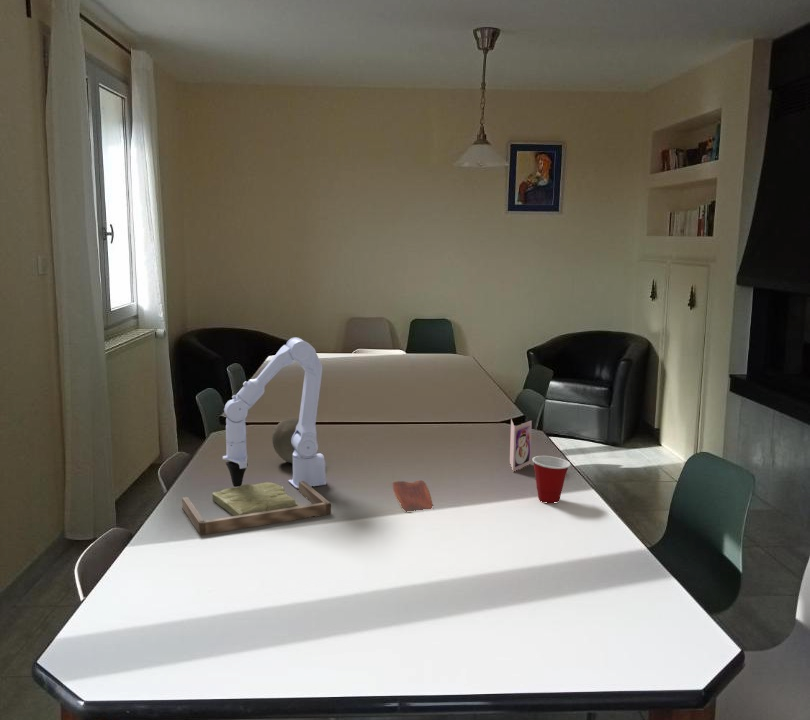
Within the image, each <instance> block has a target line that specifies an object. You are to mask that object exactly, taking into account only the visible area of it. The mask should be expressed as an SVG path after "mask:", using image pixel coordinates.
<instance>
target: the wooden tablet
mask: <svg viewBox="0 0 810 720" xmlns="http://www.w3.org/2000/svg"><path fill="white" fill-rule="evenodd" d="M392 489H393V492H395V493H394V496H395V498H396V497H397V498H396V500H397V499H398V500H399V502H400V503H401V506H402V507H401V506H400V507H401V509H402V508H403V509H404V510H405V511H406V512H407V511H414V510H415V511H416V510H423V509H431V508H432V506H434V503H433V501H432V498H431V496H430V492H429V489H428V485H427V484H426V482H425V481H423V480H416V481H414V482H409V481H404V480H402V481H401V480H400V481H399V480H398V481H393V482H392ZM398 500H397V501H398ZM399 502H398V503H399ZM432 503H433V504H432ZM406 512H405V513H406Z"/></svg>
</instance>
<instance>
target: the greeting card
mask: <svg viewBox="0 0 810 720" xmlns="http://www.w3.org/2000/svg"><path fill="white" fill-rule="evenodd" d="M532 422H533V420H529V421H526V422H524V423H521V424H519V425H514V422H513V419H512V418H510V442H509V444H510V445H509V464H511V465H510V467H512V468H511V470H513V471H512V473H515V472H517V471H519V470H521V469H520V468H522V467H524V466H526V465H528V464H530V465H531V455H532V454H531V448H532V425H533V424H532ZM528 466H529V465H528ZM526 467H527V466H526ZM524 468H525V467H524ZM518 469H519V470H518ZM522 469H523V468H522ZM516 470H517V471H516ZM514 471H515V472H514Z"/></svg>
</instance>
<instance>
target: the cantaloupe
mask: <svg viewBox="0 0 810 720" xmlns="http://www.w3.org/2000/svg"><path fill="white" fill-rule="evenodd" d="M298 422H299V418H285V419H283V420H280V422H278V424H276V425H275V427H274V429H273V432H272V435H271V442H272V446H273V447H272V448H273V449H274V451H275V452H276V455H278V456H279V458H281V459H282V460H283V461H286V462H287V463H289V464H292V465H293V452H294V450H295V448H294V447H293V446H292V443H291V438H292V436H293V434H294V433H295V430H296V426H297V424H298Z"/></svg>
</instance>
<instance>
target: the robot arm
mask: <svg viewBox="0 0 810 720" xmlns="http://www.w3.org/2000/svg"><path fill="white" fill-rule="evenodd" d="M294 361H296V363H298V364H299V366H300V367H301V368H302V369H303V370H304V377H303V383H302V384H303V385H302V393H301V398H300V399H301V400H300V407H299V415H298V416H299V417H298V419H299V422H298V424H297V426H296V430H295V433H294V434H293V436H292V438H291V443H292V446H293V447H294V448H295V450H294V452H293V464H292V479H288V482H289V484H291V485H292V486H293V487H294V488H295V489H298V490H299V481H304V482H306V483H307V484H308V485H309V486H311V487H312V486H313V487H318V486H325V485H327V482H326V461H325V459H326V458H325V457H324V455H323V454H322V453H317V452H318V449H319V444H318V443H319V442H318V441H317V440H318V439H317V434H318V432H317V427H316V423H317V414H318V406H319V400H320V391H321V383H322V376H323V369H324V368H323V365H322V362H321V361H320V358H319V356H318V354H317V351H316V349H315V347H313V346H312V344H310V343H309V342H307V341H305V340H303V339H302V338H301V337H291V338H290V339H289V340H287V341H286V344H283V345H282V346H281V347H280V348H279V349H278V351H277V352H276V354H275V355H274V356H273V357H272V358H271V359H270V361H268V363H267V364H266V365H265V367H264V368H263V369H262V370H261V371H260V373H259V374H258V375H257V376H256V378H252V379H251V378H250V379H248V381H247V380H246V381H244V382H243V383H242V385H243V386H242V387H241V388H240V390H239V391H238V392H237V393H236V394H233V395H232V396H231V398H232V399H229V400H227V402H226V403H225V405H224V408H223V412H224V415H225V416H226V419H225V424H226V425H225V444H226V447H225V448H226V452H225V455H223V456H222V457H221V458H222V460H224V461H226V462H225V465H226V467H227V469H228V471H229V474H230V478H231V482H232V486H233V488H238V487H239V486H241V485H243V481H244V475H245V472H246V470H247V468H248V466H249V464H248V461H247V460H248V454H247V424H246V418H247V416H248V414H249V413H248V412H249V411H248V410H250V409H251V408H253V406H254V405H255V404H256V402H257V401H258V400H260V398H261V397H262V396H263V395H264V394H265V390H266V389H265V387H266V385H267V384H268V383H269V382H270V381H271V380H272V379H273V378H274V377H275V376H276V375H277V374H278V373H279V372H280V371H281V370H282V368H284V367H288V366H291V365H295V362H294ZM313 487H312V488H313Z"/></svg>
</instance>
